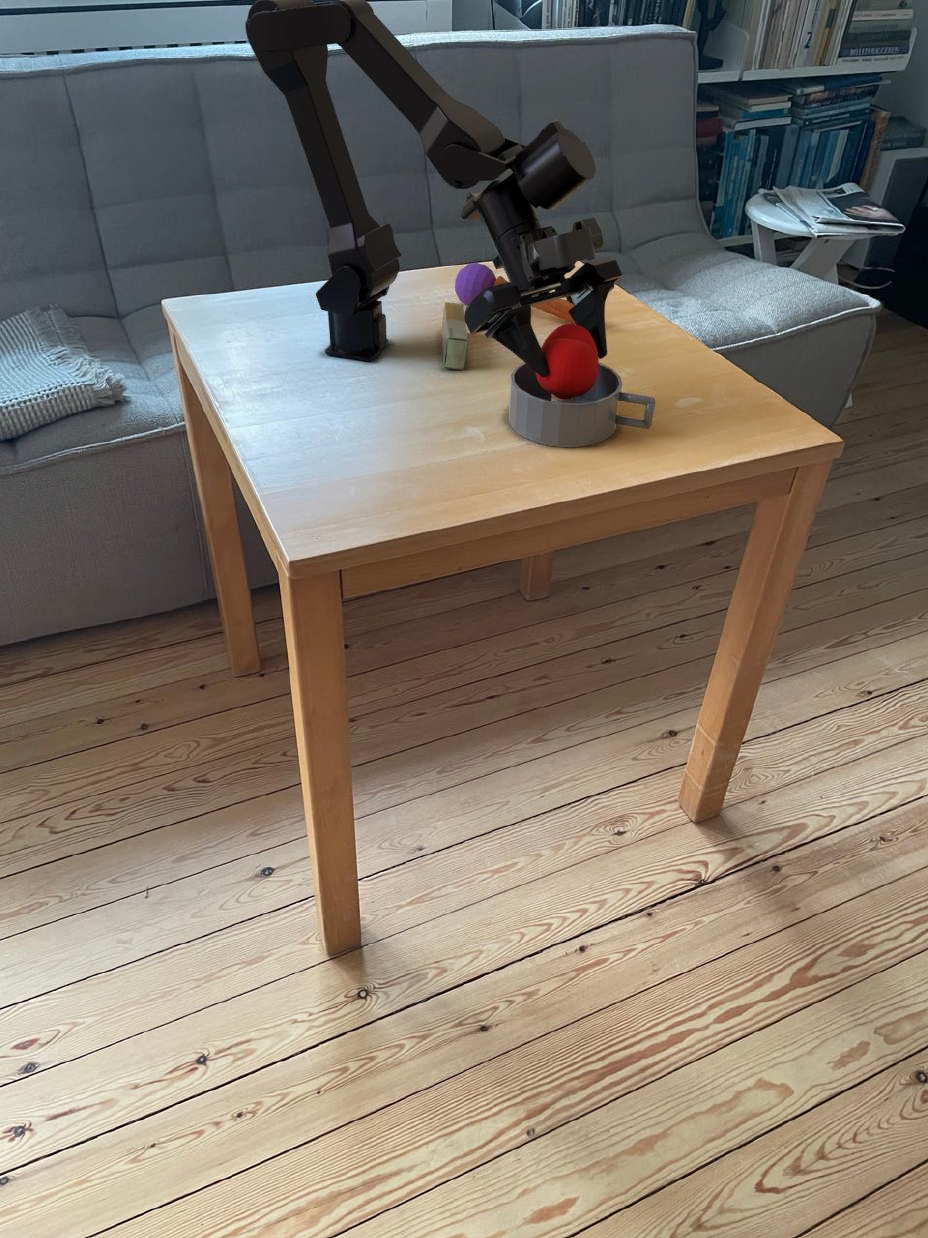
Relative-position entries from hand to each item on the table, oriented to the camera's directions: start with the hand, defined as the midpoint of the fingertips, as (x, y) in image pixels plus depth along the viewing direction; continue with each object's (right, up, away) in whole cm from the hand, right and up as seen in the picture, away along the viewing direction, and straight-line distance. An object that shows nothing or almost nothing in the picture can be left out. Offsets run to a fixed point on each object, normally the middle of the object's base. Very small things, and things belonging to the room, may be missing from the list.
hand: (575, 366), depth 102 cm
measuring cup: (+1, -5, +5) cm, 7 cm away
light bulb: (-1, -4, +5) cm, 7 cm away
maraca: (-4, +15, +30) cm, 34 cm away
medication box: (-14, +7, +20) cm, 25 cm away
